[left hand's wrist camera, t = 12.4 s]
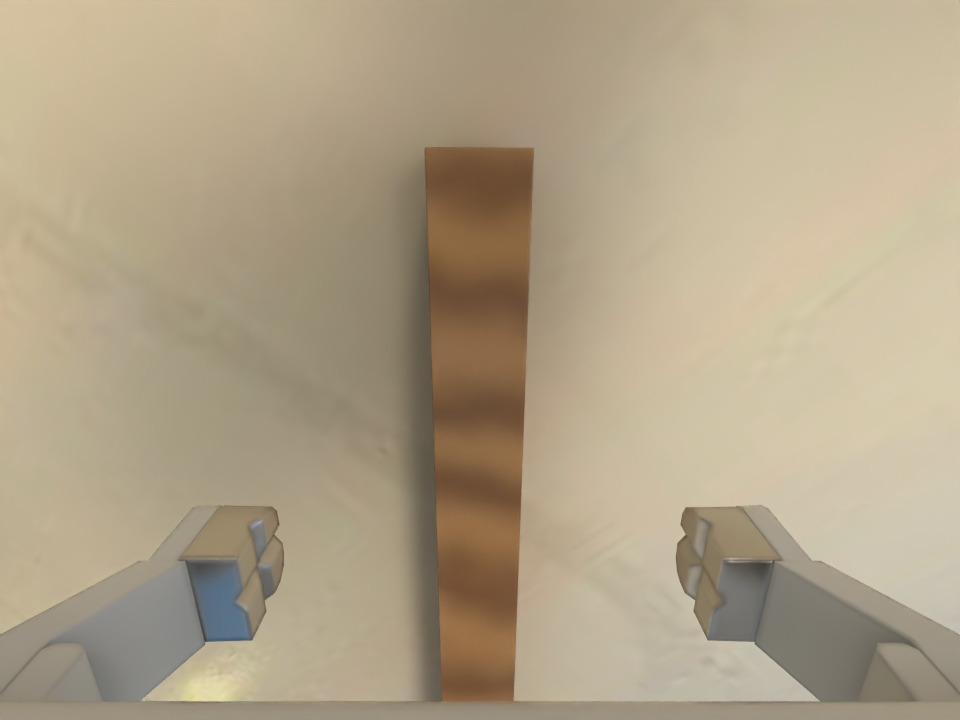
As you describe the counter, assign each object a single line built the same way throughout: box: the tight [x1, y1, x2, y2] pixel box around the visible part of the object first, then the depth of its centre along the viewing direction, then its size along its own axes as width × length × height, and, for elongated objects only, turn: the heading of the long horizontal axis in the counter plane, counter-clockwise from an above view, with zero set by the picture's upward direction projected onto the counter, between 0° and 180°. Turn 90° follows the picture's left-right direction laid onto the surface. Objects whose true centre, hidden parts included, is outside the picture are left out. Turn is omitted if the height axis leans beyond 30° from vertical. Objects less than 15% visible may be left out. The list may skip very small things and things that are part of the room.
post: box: [425, 147, 534, 701], centre depth 37 cm, size 67×4×8 cm, turn 0°
